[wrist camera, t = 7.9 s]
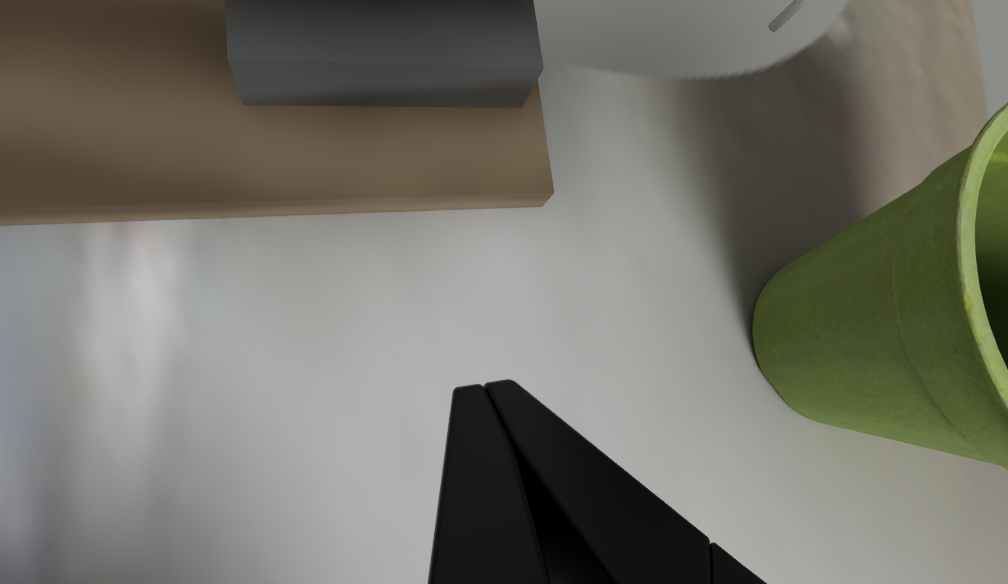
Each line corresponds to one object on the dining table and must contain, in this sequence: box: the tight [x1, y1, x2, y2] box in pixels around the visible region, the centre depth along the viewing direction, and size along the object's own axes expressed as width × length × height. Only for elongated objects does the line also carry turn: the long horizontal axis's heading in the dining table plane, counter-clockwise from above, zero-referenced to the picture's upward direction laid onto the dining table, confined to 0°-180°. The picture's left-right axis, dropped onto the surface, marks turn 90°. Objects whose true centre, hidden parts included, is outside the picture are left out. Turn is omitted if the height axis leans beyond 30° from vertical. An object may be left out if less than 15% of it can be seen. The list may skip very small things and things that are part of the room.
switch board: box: [0, 0, 554, 226], centre depth 19 cm, size 12×30×4 cm, turn 97°
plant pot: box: [752, 103, 1008, 469], centre depth 20 cm, size 12×12×11 cm
